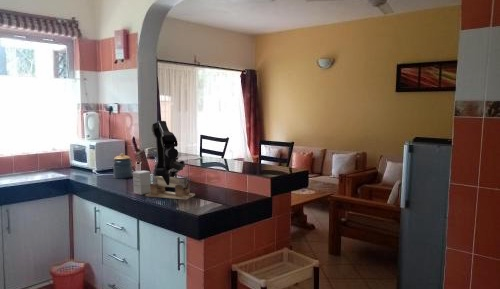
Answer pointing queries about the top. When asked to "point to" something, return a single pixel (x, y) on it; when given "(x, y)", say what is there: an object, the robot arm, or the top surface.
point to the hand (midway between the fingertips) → (169, 184)
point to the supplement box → (141, 182)
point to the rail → (170, 181)
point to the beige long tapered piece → (178, 194)
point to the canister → (122, 167)
